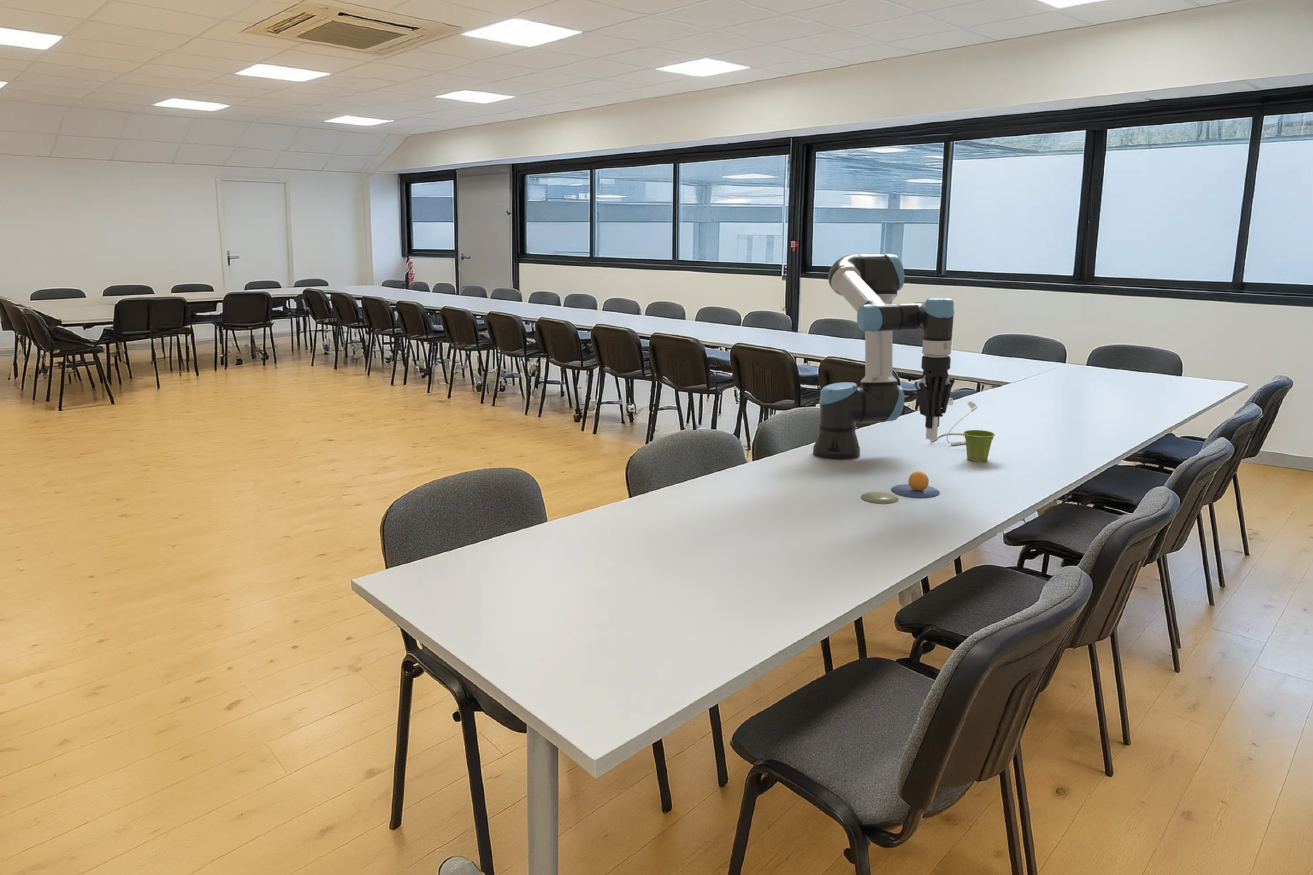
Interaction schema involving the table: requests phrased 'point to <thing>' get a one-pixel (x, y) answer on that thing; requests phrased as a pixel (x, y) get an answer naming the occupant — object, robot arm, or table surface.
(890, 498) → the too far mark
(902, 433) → the table surface
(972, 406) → the earphone
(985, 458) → the plant pot
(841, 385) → the robot arm
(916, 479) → the ball
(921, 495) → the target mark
